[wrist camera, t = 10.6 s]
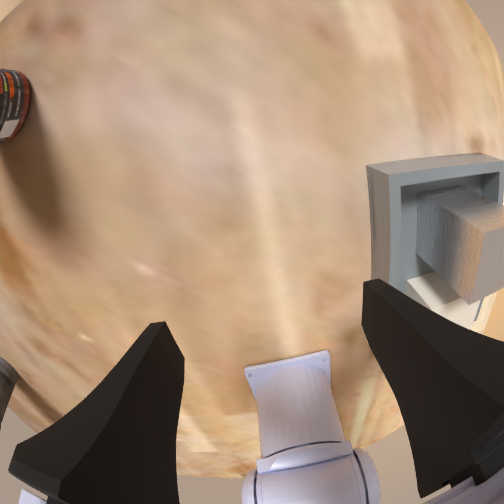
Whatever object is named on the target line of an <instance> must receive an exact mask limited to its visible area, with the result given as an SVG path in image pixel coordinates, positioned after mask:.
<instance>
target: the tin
mask: <svg viewBox="0 0 504 504" xmlns="http://www.w3.org/2000/svg"><path fill="white" fill-rule="evenodd" d="M415 253H416V254H418V255H419V256H420V257H421V258H422V259H423V260H424V261H425V262H426V263H427V264H428V265H429V266H430V267H431V268H432V269H434V270H435V271H436V272H437V273H438V274H439V275H440V276H441V277H442V278H443V279H444V280H445V281H446V282H447V283H448V284H449V285H450V286H451V287H452V288H453V289H454V290H455V291H456V292H457V293H458V294H459V296H460V297H461V298H462V299H463V300H464V301H465V302H466V303H467V304H468V305H470V304H472V303H474V302H477V301H479V300H480V299H482V298H484V297H486V296H488V295H490V294H492V293H494V292H496V291H498V290H499V289H501V288H503V287H504V206H503V205H501V204H499V203H497V202H495V201H493V200H491V199H490V198H488V197H486V196H483V195H481V194H479V193H477V192H475V191H473V190H471V189H469V188H467V187H464V186H462V185H459V186H453V187H447V188H442V189H436V190H431V191H425V192H420V193H417V233H416V251H415Z"/></svg>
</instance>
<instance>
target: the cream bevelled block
mask: <svg viewBox="0 0 504 504" xmlns="http://www.w3.org/2000/svg"><path fill="white" fill-rule="evenodd" d="M405 295H407V296H408V297H410V298H412V299H413V300H415V301H417V302H418V303H420V304H421V305H423V306H425V307H427V308H428V309H430V310H432V311H433V312H435V313H437V314H439V315H441V316H443V317H444V318H446V319H448V320H450V321H452V322H454V323H456V324H458V325H461V326H463V327H465V328H467V329H469V330H471V327H472V324H473V321H474V319H475V316H476V313H477V310H478V307H479V303H480V300H481V299H480V300H479V301H477V302H474V303H472V304H470V305H468V304H467V303H466V302H465V301H464V300H463V299H462V298H461V297H460V296H459V294H458V293H457V292H456V291H455V290H454V289H453V288H452V287H451V286H450V285H449V284H448V283H447V282H446V281H445V280H444V279H443V278H442V277H441V276H440V275H439V274H438V273H437V272H436V271H434V272H431V273H428V274H425V275H422V276H419V277H416V278H413V279H409V280H407V284H406V293H405Z"/></svg>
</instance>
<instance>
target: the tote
mask: <svg viewBox="0 0 504 504" xmlns="http://www.w3.org/2000/svg"><path fill="white" fill-rule="evenodd" d="M366 167H367V177H368V188H369V201H370V217H371V245H372V280H374V279H377V278H379V279H381V280H383V281H384V282H386V283H388V284H389V285H391V286H393V287H394V288H396V289H397V290H399V291H401V292H402V293H404V294H405V293H406V284H407V280H409V279H413V278H416V277H419V276H422V275H425V274H428V273H431V272H434V271H435V270H434V269H432V268H431V267H430V266H429V265H428V264H427V263H426V262H425V261H424V260H423V259H422V258H421V257H420V256H419V255H418V254H416V253H415V251H416V233H417V193H420V192H425V191H431V190H436V189H442V188H447V187H453V186H459V185H462V186H464V187H467V188H469V189H471V190H473V191H475V192H477V193H479V194H481V195H483V196H486V197H488V198H490V199H491V200H493V201H495V202H497V203H499V204H501V205H502V204H503V193H504V161H503V160H500V159H497V158H494V157H491V156H488V155H485V154H481V153H476V154H461V155H449V156H437V157H427V158H418V159H409V160H401V161H393V162H386V163H379V164H372V165H366ZM483 299H484V298H482V299H481V300H480V303H479V307H478V310H477V313H476V316H475V319H474V321H476V320H477V317H478V314H479V311H480V308H481V305H482V302H483ZM474 321H473V322H474Z"/></svg>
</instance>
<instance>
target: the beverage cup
mask: <svg viewBox="0 0 504 504" xmlns="http://www.w3.org/2000/svg"><path fill="white" fill-rule="evenodd" d="M17 378H18V374H17V372H16V371H15V370H14V368H13V367H12V366H11V365H10V364H9V363H8V362H6V361H5V360H4V359H2V358H0V429H1V422H2V420H3V417H4V413H5V411H6V408H7V405H8V402H9V400H10V397H11V395H12V392H13V390H14V387H15V384H16V381H17Z"/></svg>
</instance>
